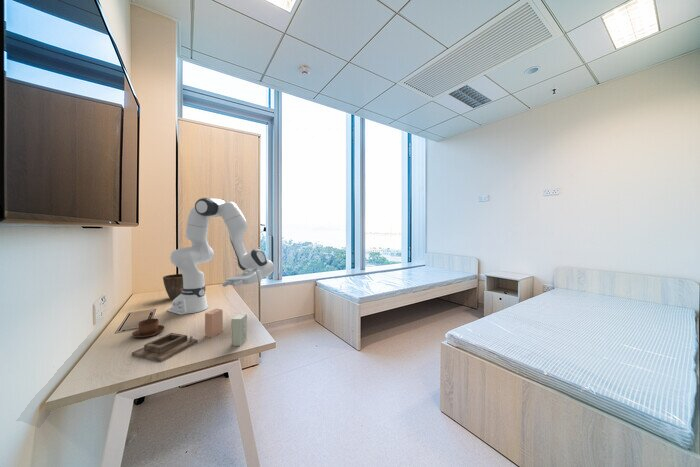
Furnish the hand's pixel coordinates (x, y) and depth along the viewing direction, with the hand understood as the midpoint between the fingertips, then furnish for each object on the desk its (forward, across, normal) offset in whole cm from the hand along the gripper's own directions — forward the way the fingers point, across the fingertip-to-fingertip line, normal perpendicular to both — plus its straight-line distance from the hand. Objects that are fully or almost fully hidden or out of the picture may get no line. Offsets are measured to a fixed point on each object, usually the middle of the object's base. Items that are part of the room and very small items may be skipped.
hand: (228, 285), depth 126 cm
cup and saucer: (+28, -27, +13) cm, 41 cm away
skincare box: (+13, +17, +22) cm, 31 cm away
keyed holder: (+31, -4, +15) cm, 35 cm away
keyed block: (+13, -1, +19) cm, 23 cm away
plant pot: (-7, -77, +11) cm, 78 cm away
